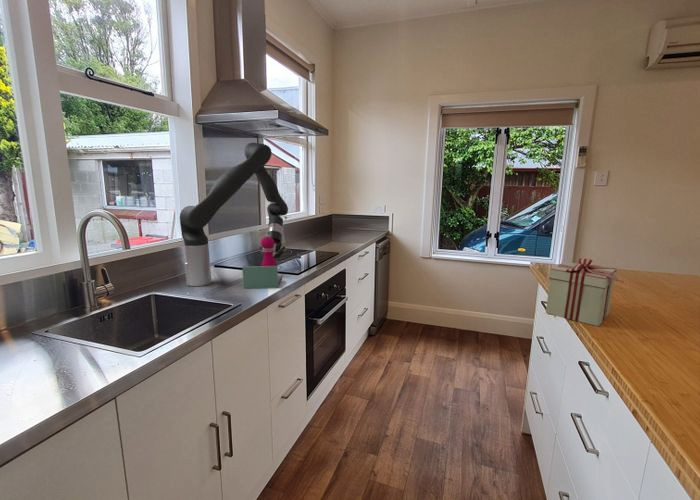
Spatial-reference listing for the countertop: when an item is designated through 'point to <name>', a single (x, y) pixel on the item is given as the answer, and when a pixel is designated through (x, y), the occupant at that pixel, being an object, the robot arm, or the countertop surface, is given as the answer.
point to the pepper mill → (268, 251)
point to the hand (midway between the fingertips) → (270, 264)
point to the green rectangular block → (261, 277)
